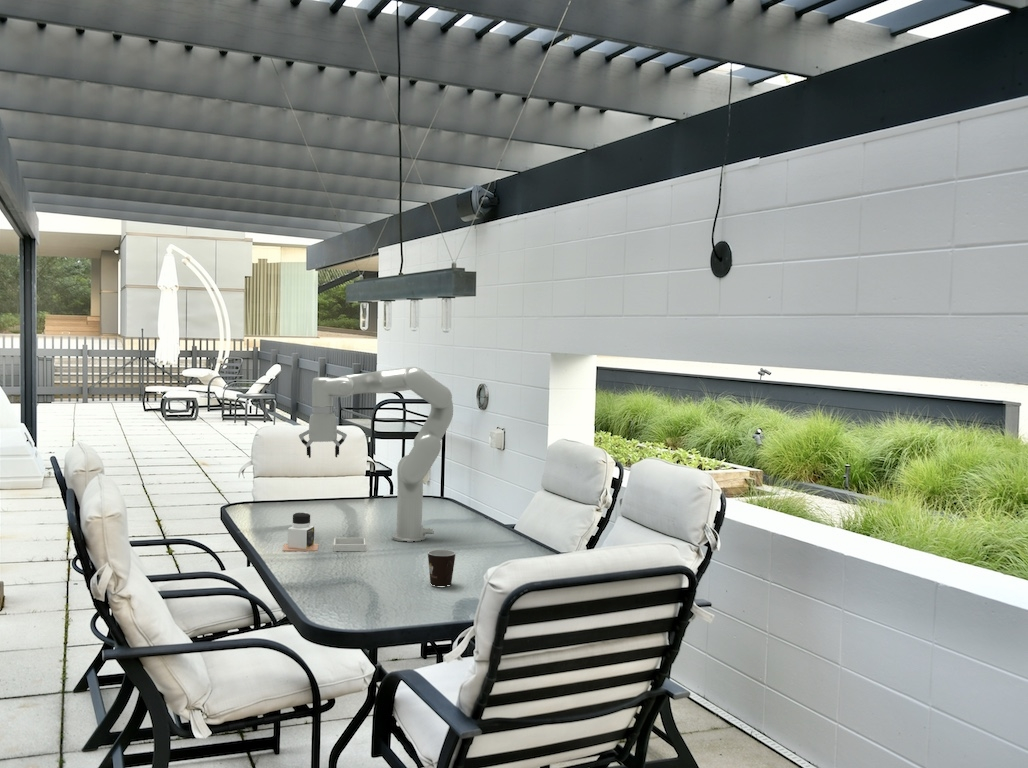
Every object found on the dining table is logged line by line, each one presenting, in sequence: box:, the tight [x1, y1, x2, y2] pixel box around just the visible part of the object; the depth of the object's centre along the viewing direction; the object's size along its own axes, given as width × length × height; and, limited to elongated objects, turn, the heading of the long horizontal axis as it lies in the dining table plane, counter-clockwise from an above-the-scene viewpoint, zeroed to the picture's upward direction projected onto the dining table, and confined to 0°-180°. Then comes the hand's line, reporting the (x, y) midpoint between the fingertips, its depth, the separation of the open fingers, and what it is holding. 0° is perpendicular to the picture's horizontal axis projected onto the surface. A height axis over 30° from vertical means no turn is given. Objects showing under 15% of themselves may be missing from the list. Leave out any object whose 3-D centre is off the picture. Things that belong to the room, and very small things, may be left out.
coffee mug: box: [427, 549, 457, 586], centre depth 288 cm, size 12×9×10 cm
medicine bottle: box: [287, 511, 315, 549], centre depth 332 cm, size 7×7×12 cm
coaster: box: [281, 543, 320, 551], centre depth 332 cm, size 12×10×1 cm
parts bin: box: [333, 537, 366, 552], centre depth 335 cm, size 11×11×2 cm
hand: (323, 457), depth 345 cm, fingers open, 9 cm apart
